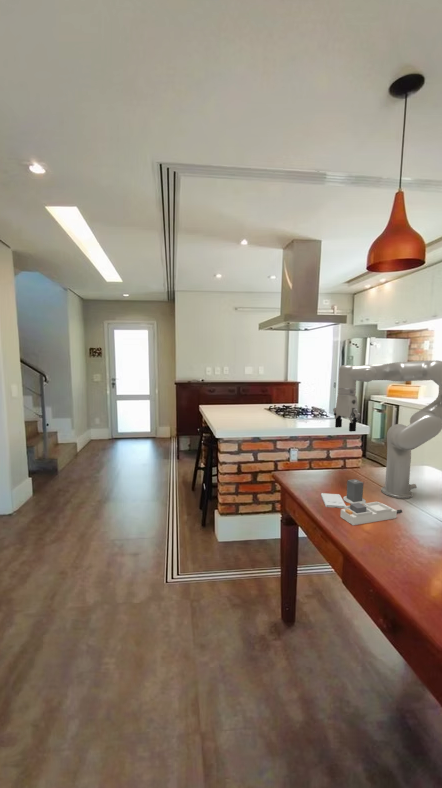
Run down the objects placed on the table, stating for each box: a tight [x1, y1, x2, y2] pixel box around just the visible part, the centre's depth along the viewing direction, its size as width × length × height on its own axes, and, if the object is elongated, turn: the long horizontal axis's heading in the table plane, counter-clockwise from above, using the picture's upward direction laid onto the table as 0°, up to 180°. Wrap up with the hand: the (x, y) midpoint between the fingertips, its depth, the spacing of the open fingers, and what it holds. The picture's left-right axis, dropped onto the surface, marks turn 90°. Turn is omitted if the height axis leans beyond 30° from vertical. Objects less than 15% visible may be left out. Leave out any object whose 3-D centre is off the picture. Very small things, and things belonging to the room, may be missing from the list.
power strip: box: [339, 501, 403, 526], centre depth 129 cm, size 26×7×5 cm, turn 108°
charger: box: [346, 478, 364, 502], centre depth 144 cm, size 4×4×8 cm
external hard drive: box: [320, 492, 347, 509], centre depth 143 cm, size 2×8×12 cm
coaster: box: [342, 495, 367, 505], centre depth 145 cm, size 9×9×1 cm
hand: (345, 429), depth 156 cm, fingers open, 9 cm apart
